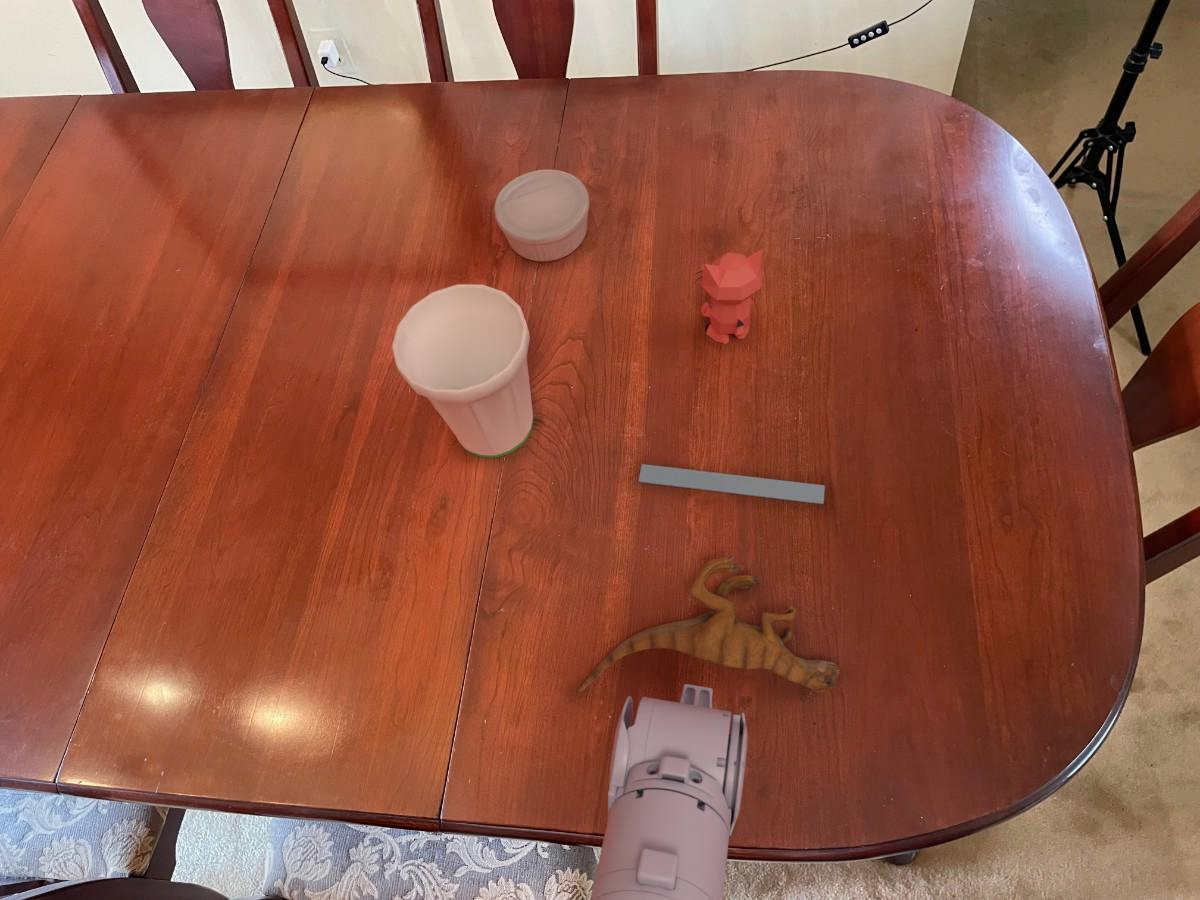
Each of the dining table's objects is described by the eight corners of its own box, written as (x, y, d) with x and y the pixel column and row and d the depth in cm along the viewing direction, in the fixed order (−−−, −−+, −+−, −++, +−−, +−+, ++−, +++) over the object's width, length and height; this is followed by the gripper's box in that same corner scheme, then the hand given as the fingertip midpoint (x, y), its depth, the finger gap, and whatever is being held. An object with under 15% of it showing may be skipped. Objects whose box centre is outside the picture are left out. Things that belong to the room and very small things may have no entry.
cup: (531, 486, 85) (500, 405, 72) (419, 462, 88) (369, 379, 75) (567, 386, 91) (545, 293, 78) (461, 366, 94) (422, 273, 81)
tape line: (823, 504, 81) (823, 503, 81) (638, 482, 84) (638, 481, 84) (824, 486, 82) (824, 485, 82) (641, 464, 85) (641, 463, 85)
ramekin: (542, 188, 106) (535, 155, 102) (612, 224, 102) (608, 191, 98) (483, 245, 103) (473, 213, 98) (553, 284, 98) (546, 252, 94)
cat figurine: (750, 300, 94) (756, 221, 84) (772, 347, 91) (781, 271, 80) (689, 316, 94) (688, 240, 84) (709, 364, 91) (710, 291, 80)
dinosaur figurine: (840, 595, 77) (836, 729, 71) (599, 567, 80) (577, 693, 75) (851, 569, 71) (848, 713, 65) (590, 540, 75) (566, 674, 69)
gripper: (636, 658, 55) (647, 706, 67) (594, 908, 48) (615, 911, 60) (746, 676, 54) (737, 721, 66) (718, 934, 47) (715, 933, 59)
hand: (685, 813), depth 63 cm, fingers closed
